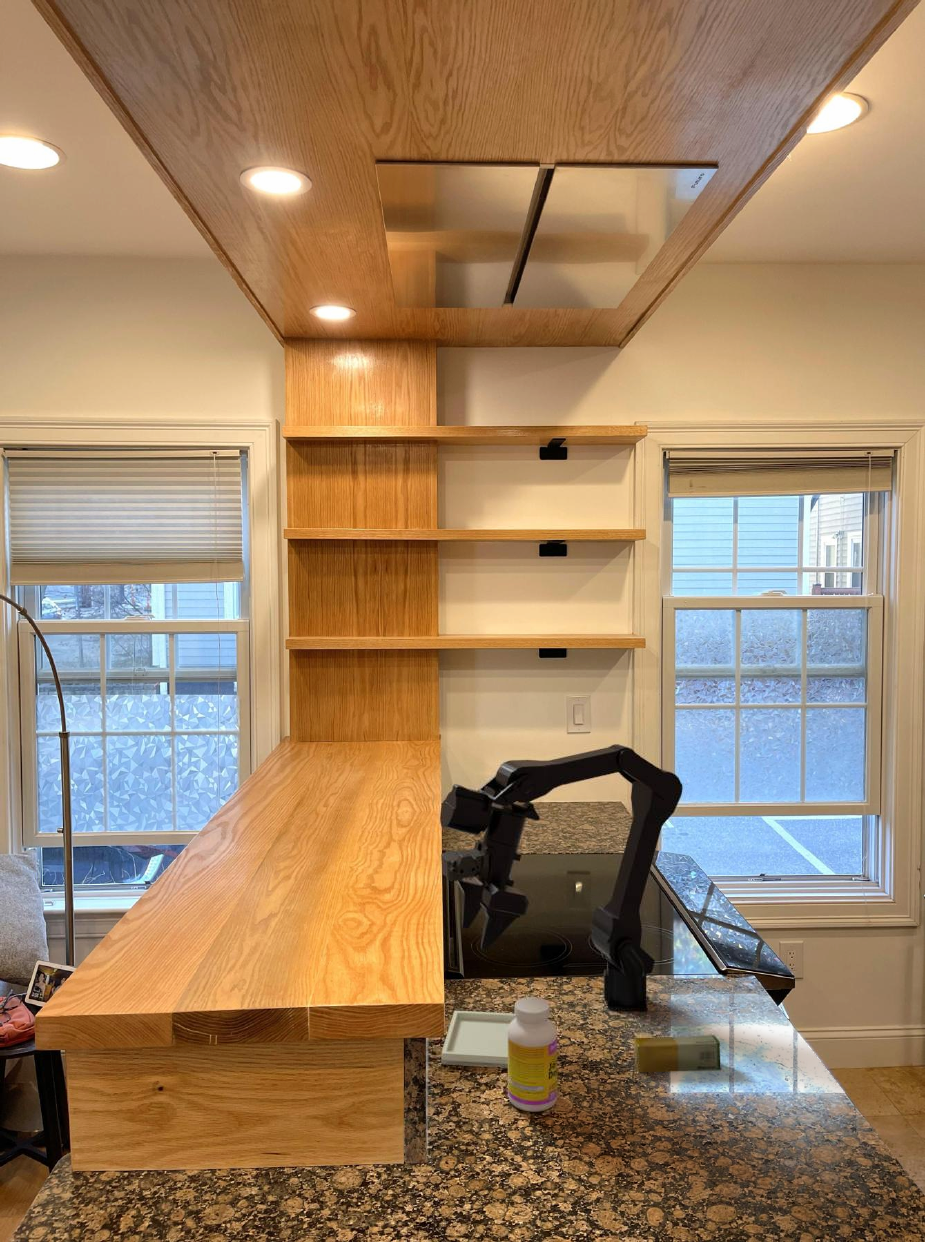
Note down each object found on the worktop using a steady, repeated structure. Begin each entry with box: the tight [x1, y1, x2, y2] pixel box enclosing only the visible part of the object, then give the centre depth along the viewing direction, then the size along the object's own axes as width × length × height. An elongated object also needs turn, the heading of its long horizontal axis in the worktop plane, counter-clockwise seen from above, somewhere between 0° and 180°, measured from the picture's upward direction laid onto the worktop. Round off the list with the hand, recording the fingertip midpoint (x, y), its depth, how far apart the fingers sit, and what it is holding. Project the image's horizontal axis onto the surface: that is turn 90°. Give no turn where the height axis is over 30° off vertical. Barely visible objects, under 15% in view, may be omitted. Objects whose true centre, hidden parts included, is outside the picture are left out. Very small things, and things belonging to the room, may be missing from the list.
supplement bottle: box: [507, 996, 559, 1113], centre depth 116 cm, size 7×7×13 cm
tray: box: [440, 1010, 516, 1069], centre depth 131 cm, size 13×13×2 cm
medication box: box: [633, 1034, 722, 1073], centre depth 124 cm, size 12×3×4 cm, turn 92°
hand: (474, 938), depth 135 cm, fingers open, 9 cm apart
